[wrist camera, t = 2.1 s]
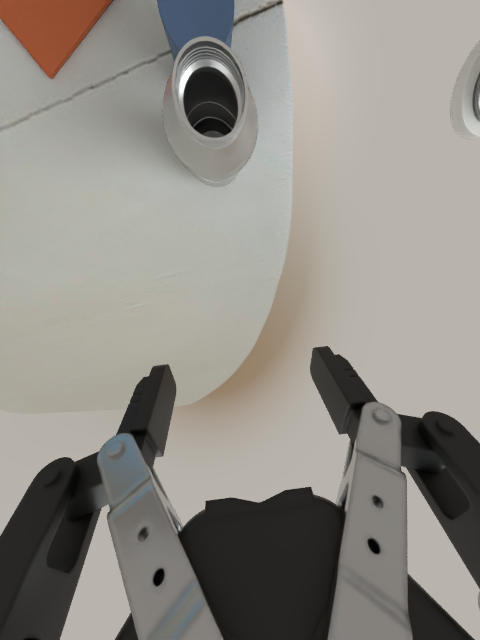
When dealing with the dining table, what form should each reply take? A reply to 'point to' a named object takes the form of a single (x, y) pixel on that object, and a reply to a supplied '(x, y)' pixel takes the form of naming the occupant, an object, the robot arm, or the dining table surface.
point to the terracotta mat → (51, 27)
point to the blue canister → (196, 21)
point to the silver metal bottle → (210, 111)
